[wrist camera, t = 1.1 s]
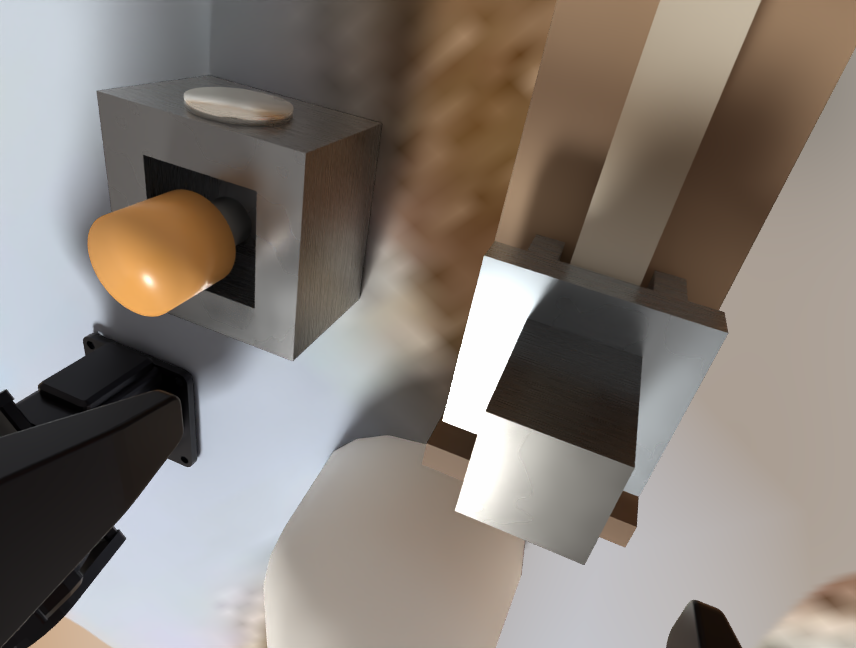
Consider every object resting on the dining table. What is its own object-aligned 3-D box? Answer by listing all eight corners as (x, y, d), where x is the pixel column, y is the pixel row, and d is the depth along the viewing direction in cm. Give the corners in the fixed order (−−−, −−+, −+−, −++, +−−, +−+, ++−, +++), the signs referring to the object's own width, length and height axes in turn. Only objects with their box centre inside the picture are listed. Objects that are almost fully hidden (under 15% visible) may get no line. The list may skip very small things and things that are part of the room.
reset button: (268, 273, 20) (180, 330, 16) (195, 247, 20) (95, 296, 17) (270, 189, 18) (174, 232, 15) (191, 164, 19) (80, 199, 15)
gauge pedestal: (359, 299, 23) (292, 361, 19) (213, 247, 25) (122, 295, 21) (383, 114, 19) (306, 141, 15) (208, 66, 21) (95, 79, 17)
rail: (632, 453, 22) (625, 547, 18) (461, 389, 24) (421, 464, 20) (1067, -408, 10) (1303, -654, 7) (678, -427, 12) (685, -639, 8)
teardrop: (560, 498, 24) (487, 830, 15) (490, 635, 30) (404, 937, 20) (331, 399, 27) (130, 630, 17) (307, 545, 32) (149, 780, 23)
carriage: (642, 441, 20) (631, 629, 14) (466, 377, 21) (386, 522, 15) (719, 289, 16) (750, 447, 10) (506, 225, 18) (426, 332, 12)
